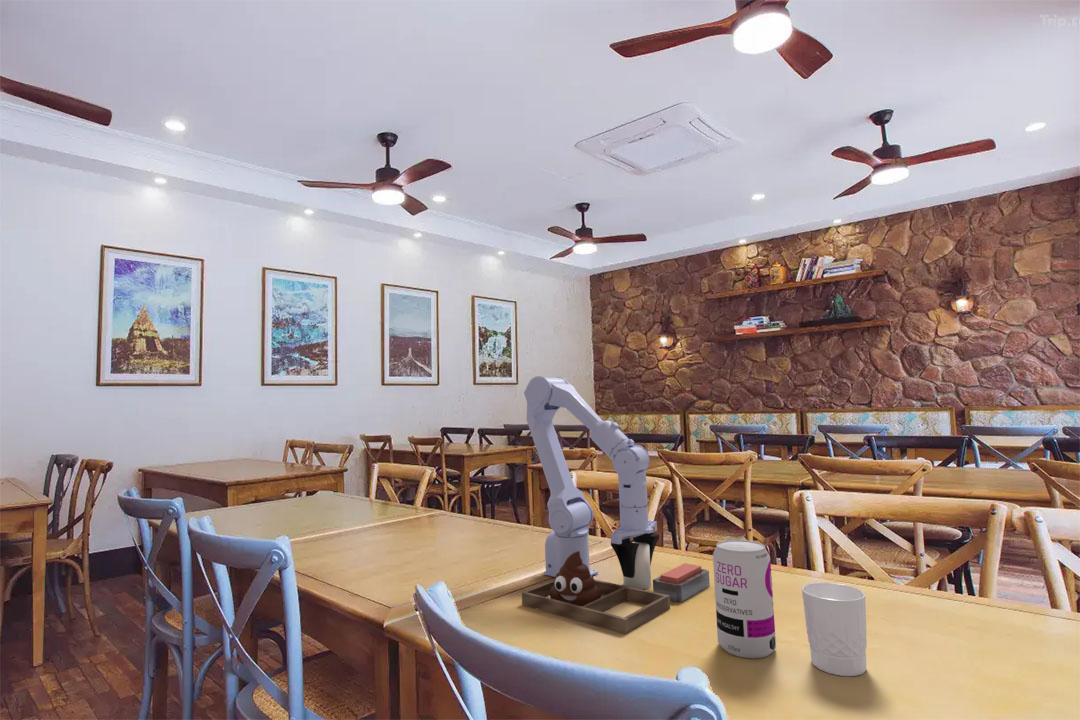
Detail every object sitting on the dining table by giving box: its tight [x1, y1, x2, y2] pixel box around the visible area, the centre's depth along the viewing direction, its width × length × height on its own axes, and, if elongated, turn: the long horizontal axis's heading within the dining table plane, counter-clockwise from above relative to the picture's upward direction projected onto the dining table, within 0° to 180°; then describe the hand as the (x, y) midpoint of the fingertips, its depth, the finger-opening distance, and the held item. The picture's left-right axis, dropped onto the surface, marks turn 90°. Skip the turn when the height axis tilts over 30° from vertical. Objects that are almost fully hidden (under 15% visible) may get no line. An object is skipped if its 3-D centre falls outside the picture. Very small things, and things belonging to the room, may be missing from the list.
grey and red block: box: [652, 568, 711, 603], centre depth 112 cm, size 6×12×3 cm, turn 138°
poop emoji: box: [549, 551, 602, 606], centre depth 108 cm, size 10×8×9 cm
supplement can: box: [712, 539, 777, 659], centre depth 85 cm, size 8×8×15 cm
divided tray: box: [521, 578, 671, 635], centre depth 105 cm, size 23×14×2 cm, turn 48°
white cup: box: [801, 581, 867, 677], centre depth 79 cm, size 8×8×10 cm
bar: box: [659, 563, 702, 584], centre depth 112 cm, size 4×10×3 cm, turn 138°
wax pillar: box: [622, 541, 652, 590], centre depth 116 cm, size 6×6×8 cm
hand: (636, 573), depth 116 cm, fingers closed on wax pillar, 6 cm apart
